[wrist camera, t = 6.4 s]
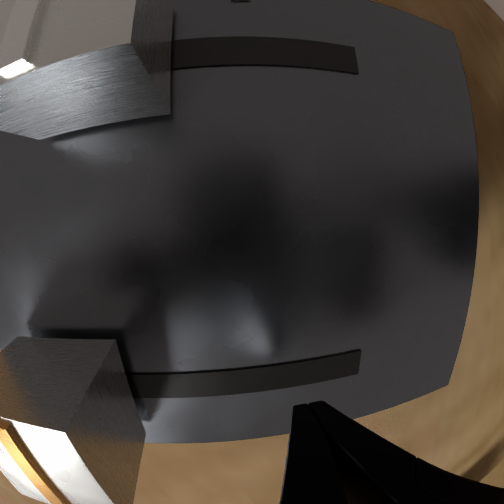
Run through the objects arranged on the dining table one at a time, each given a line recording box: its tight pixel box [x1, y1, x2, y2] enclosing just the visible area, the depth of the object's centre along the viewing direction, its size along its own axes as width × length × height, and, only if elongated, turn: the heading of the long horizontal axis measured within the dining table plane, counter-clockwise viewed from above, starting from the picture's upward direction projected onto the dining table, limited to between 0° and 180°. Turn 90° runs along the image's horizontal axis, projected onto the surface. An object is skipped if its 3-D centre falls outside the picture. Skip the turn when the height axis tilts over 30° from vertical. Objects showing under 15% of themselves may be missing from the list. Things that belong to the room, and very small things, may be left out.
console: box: [0, 0, 479, 443], centre depth 8 cm, size 19×16×1 cm
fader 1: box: [0, 0, 174, 140], centre depth 4 cm, size 4×4×4 cm
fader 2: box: [0, 336, 146, 504], centre depth 6 cm, size 4×4×4 cm
